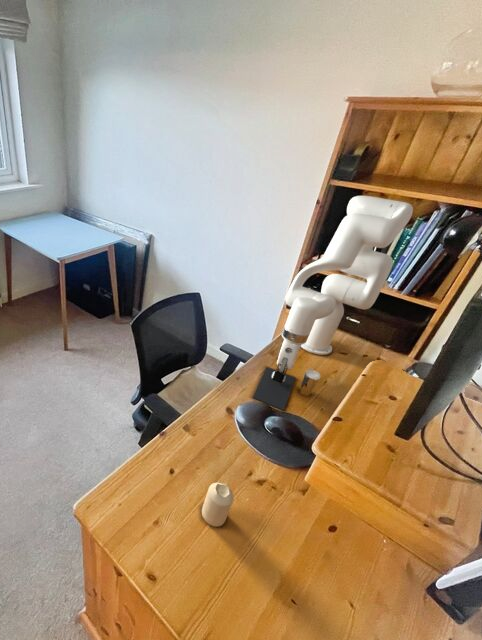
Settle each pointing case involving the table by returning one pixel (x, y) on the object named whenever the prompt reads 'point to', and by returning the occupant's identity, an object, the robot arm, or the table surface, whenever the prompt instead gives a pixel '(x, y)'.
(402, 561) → the table surface
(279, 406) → the felt mat
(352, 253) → the robot arm
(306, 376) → the milkshake
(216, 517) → the candle
